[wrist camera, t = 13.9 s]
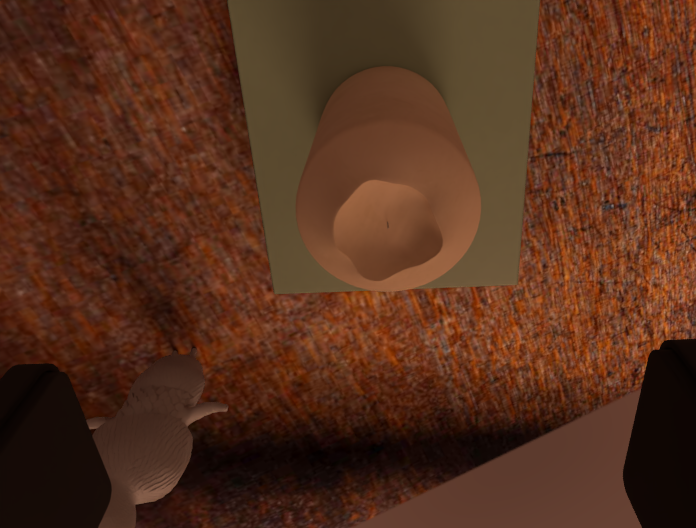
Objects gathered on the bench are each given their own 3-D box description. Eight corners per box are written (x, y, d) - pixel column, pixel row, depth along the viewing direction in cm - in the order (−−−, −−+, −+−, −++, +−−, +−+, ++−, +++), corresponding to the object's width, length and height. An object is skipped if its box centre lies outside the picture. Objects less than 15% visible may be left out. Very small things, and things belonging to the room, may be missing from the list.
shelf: (247, -72, 26) (214, -75, 21) (514, -95, 26) (548, -105, 20) (290, 240, 34) (273, 294, 29) (496, 231, 33) (517, 285, 28)
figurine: (132, 384, 40) (13, 598, 27) (109, 339, 38) (-30, 545, 25) (262, 366, 39) (202, 581, 26) (244, 318, 37) (171, 523, 24)
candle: (471, 90, 24) (525, 177, 15) (421, 207, 26) (441, 339, 18) (343, 44, 23) (322, 107, 14) (305, 168, 26) (266, 286, 17)
